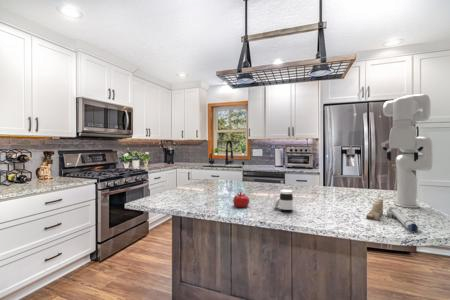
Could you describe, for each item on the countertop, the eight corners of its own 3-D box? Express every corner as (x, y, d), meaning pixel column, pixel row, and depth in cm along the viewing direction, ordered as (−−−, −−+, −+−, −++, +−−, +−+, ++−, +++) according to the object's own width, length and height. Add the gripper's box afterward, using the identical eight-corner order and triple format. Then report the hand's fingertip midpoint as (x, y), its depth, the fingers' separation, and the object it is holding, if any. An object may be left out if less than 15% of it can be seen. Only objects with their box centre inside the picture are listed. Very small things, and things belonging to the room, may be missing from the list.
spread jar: (293, 213, 134) (293, 192, 134) (272, 212, 137) (272, 191, 137) (292, 207, 146) (292, 188, 146) (273, 206, 149) (273, 188, 148)
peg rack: (371, 211, 136) (371, 197, 135) (383, 213, 132) (383, 199, 132) (366, 218, 123) (366, 203, 123) (378, 220, 120) (378, 204, 120)
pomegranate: (251, 208, 147) (251, 193, 147) (236, 209, 144) (236, 193, 144) (245, 203, 156) (245, 189, 156) (231, 205, 154) (231, 190, 153)
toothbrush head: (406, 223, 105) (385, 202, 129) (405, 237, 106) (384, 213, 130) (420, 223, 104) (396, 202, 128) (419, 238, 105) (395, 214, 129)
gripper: (426, 123, 110) (426, 161, 110) (381, 126, 121) (381, 159, 122) (426, 122, 104) (425, 162, 105) (379, 125, 116) (379, 160, 116)
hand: (402, 160), depth 113 cm, fingers open, 9 cm apart
